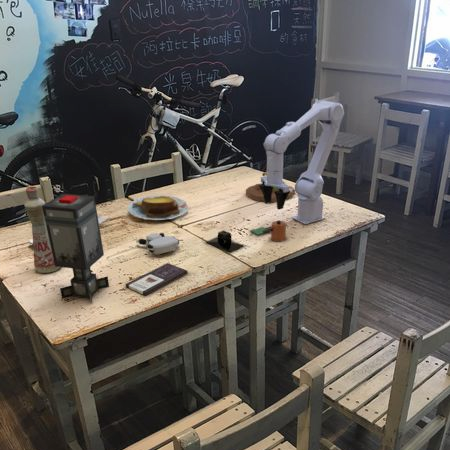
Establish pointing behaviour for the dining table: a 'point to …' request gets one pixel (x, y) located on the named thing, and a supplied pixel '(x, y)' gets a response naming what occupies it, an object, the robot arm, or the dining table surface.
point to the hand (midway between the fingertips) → (274, 205)
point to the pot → (277, 231)
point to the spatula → (260, 231)
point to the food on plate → (157, 207)
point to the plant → (257, 194)
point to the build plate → (225, 242)
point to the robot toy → (159, 243)
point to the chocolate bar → (156, 279)
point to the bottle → (39, 232)
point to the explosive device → (75, 241)
